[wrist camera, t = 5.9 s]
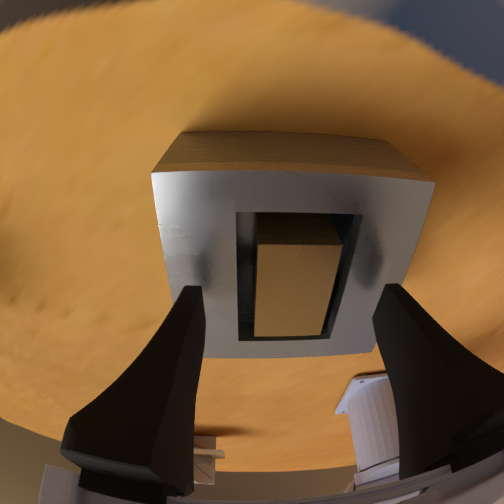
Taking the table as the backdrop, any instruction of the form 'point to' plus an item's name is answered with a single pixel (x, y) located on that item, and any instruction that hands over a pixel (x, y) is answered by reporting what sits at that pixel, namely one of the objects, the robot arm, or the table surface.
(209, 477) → the architectural model
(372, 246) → the grey square frame
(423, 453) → the robot arm
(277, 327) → the tan wooden block
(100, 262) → the table surface
